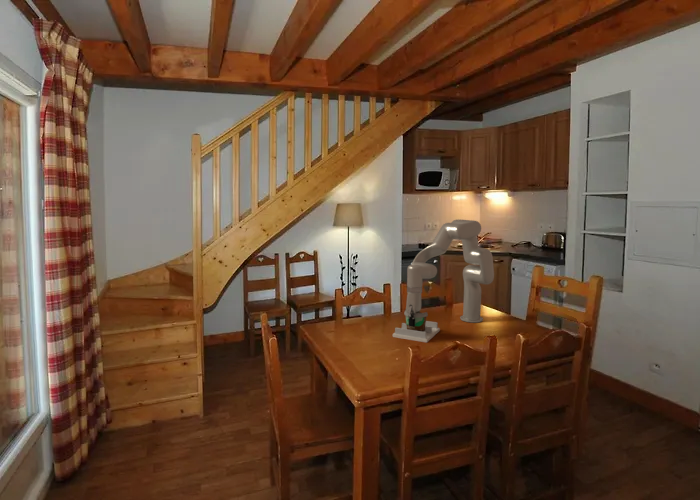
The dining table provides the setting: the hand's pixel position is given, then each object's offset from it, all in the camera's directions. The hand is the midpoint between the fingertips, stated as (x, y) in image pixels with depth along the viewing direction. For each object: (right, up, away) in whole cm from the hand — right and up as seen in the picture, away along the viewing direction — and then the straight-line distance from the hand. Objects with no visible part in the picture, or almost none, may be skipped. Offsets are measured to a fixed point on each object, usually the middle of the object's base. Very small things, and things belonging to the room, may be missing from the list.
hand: (414, 324), depth 227 cm
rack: (+2, -6, +5) cm, 8 cm away
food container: (0, -4, 0) cm, 4 cm away
